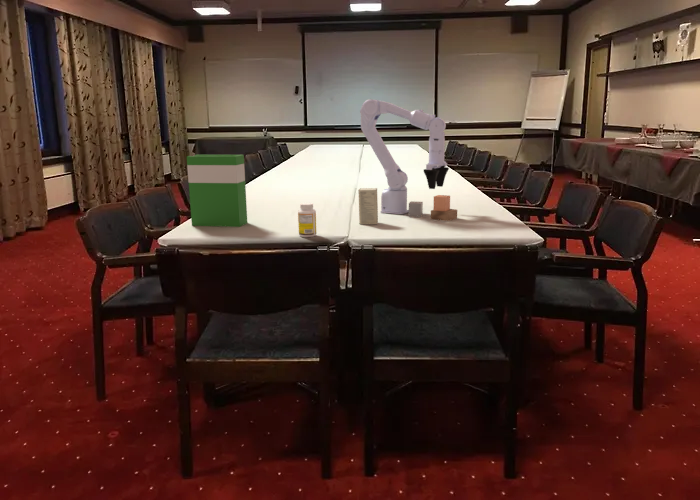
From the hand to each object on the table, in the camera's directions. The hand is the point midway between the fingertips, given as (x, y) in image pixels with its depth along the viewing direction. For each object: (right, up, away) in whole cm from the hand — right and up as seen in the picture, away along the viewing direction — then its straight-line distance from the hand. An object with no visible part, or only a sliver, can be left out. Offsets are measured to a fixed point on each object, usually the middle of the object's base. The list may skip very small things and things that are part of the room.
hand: (435, 187), depth 216 cm
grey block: (-8, -11, -1) cm, 13 cm away
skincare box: (-26, -14, -15) cm, 33 cm away
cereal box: (-78, -15, -13) cm, 81 cm away
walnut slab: (+2, -12, -8) cm, 15 cm away
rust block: (+1, -9, -9) cm, 13 cm away
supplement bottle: (-46, -19, -34) cm, 60 cm away
